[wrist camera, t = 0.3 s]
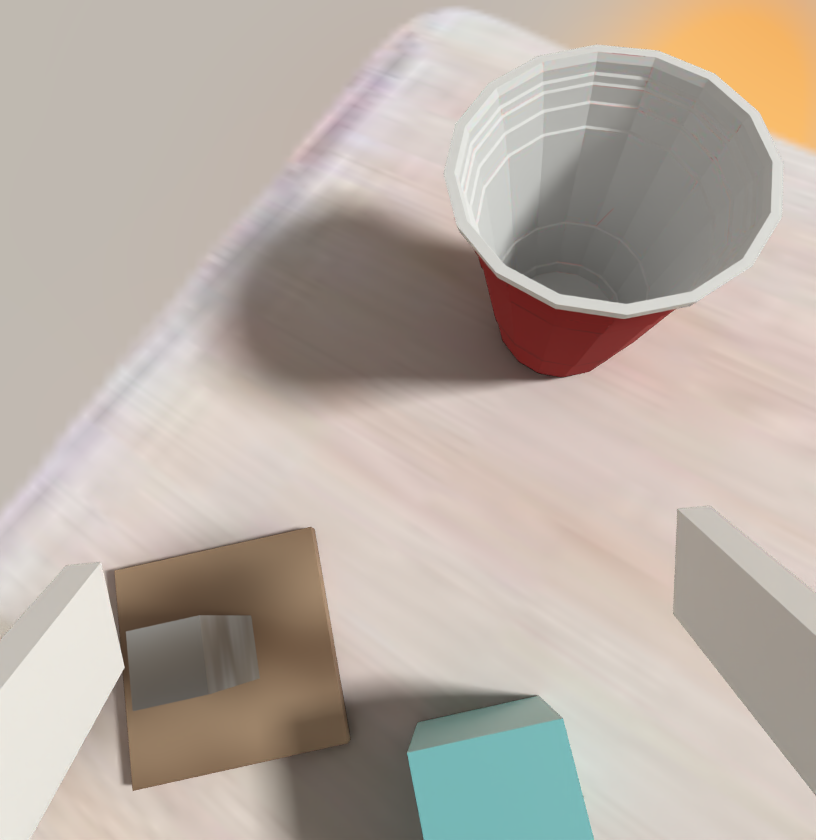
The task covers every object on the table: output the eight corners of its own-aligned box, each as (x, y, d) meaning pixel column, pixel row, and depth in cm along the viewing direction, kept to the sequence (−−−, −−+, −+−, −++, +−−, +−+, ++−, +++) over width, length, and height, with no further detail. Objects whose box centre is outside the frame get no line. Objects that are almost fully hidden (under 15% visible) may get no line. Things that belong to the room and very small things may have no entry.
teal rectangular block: (573, 833, 27) (609, 900, 21) (445, 861, 27) (442, 936, 21) (538, 695, 28) (563, 718, 22) (417, 722, 28) (407, 752, 22)
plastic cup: (661, 218, 34) (766, 16, 23) (683, 424, 31) (817, 311, 20) (446, 224, 35) (442, 31, 23) (447, 426, 32) (444, 318, 20)
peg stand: (350, 739, 28) (318, 778, 22) (141, 785, 28) (44, 838, 22) (314, 529, 31) (275, 504, 24) (122, 571, 31) (30, 559, 24)
